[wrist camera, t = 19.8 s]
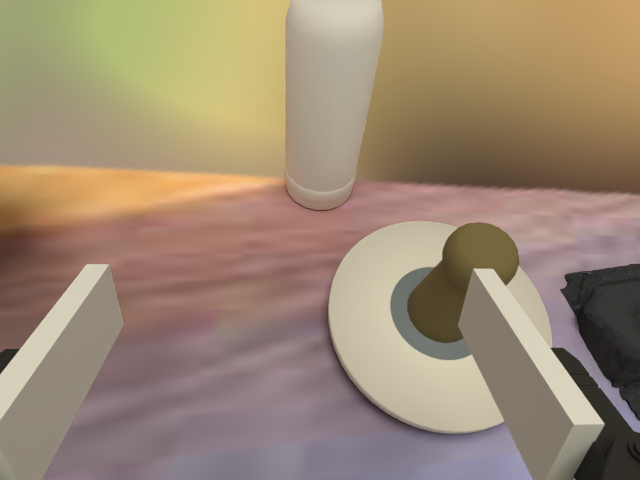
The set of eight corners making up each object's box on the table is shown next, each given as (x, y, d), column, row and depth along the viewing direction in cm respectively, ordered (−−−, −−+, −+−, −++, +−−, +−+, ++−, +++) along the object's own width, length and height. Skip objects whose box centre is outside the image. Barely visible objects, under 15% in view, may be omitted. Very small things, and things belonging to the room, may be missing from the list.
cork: (486, 331, 37) (551, 270, 28) (425, 351, 36) (473, 294, 27) (453, 274, 40) (503, 201, 31) (396, 290, 39) (430, 219, 30)
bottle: (272, 176, 50) (258, -170, 25) (326, 151, 53) (362, -182, 28) (311, 223, 46) (339, -124, 22) (366, 193, 49) (448, -143, 24)
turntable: (286, 289, 40) (285, 281, 39) (437, 201, 47) (441, 192, 46) (431, 490, 32) (437, 489, 30) (588, 346, 39) (598, 339, 38)
